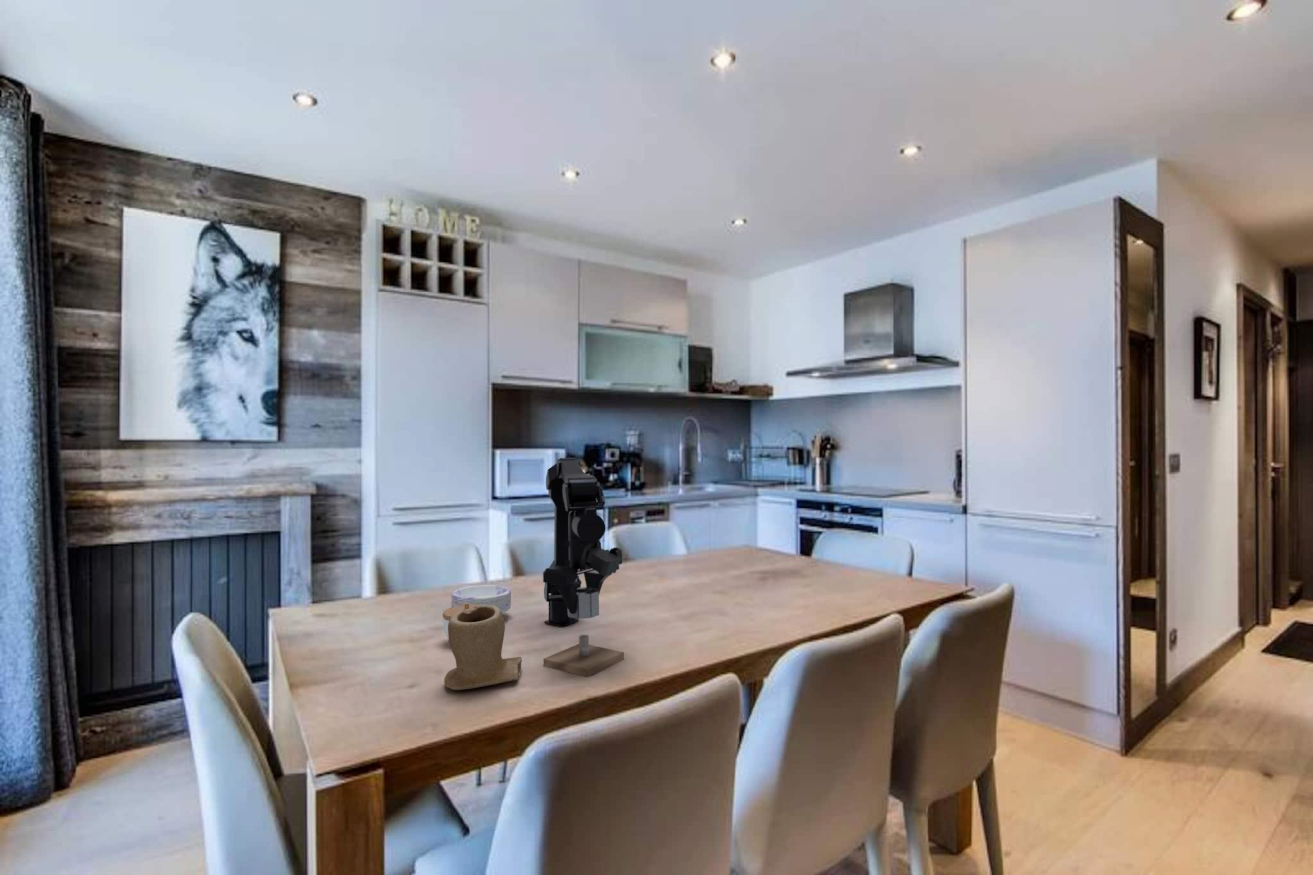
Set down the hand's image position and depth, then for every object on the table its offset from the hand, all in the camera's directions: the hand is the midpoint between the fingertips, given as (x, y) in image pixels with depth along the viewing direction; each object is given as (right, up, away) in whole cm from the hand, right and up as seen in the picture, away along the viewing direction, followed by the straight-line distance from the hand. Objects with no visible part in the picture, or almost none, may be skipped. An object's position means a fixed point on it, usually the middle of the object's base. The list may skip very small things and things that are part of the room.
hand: (583, 609), depth 133 cm
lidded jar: (-29, -12, +14) cm, 34 cm away
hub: (0, -1, 0) cm, 1 cm away
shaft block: (0, -11, 0) cm, 11 cm away
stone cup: (-18, -12, -11) cm, 24 cm away
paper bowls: (-31, -12, +33) cm, 47 cm away
